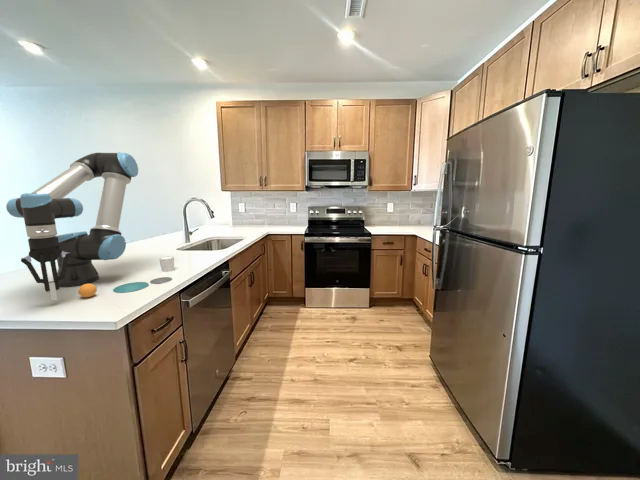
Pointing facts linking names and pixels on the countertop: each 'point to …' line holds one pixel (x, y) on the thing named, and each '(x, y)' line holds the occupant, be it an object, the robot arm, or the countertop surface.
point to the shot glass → (167, 264)
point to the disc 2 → (160, 280)
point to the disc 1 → (130, 287)
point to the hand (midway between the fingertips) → (54, 298)
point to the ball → (87, 290)
